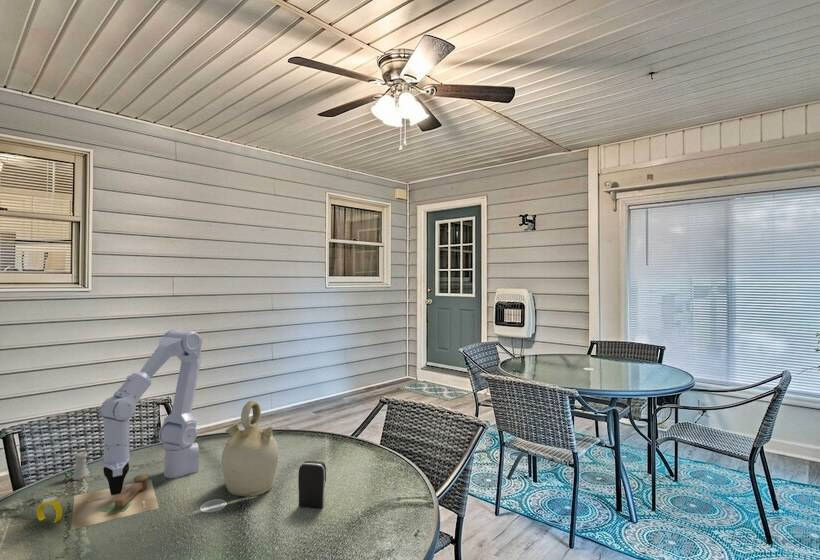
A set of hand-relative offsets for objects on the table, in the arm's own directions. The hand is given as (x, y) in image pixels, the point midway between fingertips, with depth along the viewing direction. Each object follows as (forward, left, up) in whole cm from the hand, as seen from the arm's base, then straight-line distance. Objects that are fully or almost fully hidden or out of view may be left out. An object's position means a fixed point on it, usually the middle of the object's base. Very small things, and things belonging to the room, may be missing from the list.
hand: (115, 493), depth 117 cm
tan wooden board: (0, +1, -3) cm, 3 cm away
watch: (+14, +3, -3) cm, 14 cm away
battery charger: (-43, +30, -3) cm, 52 cm away
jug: (-32, +11, -3) cm, 34 cm away
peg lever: (-4, +1, -2) cm, 4 cm away
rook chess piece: (+8, -22, -3) cm, 24 cm away
